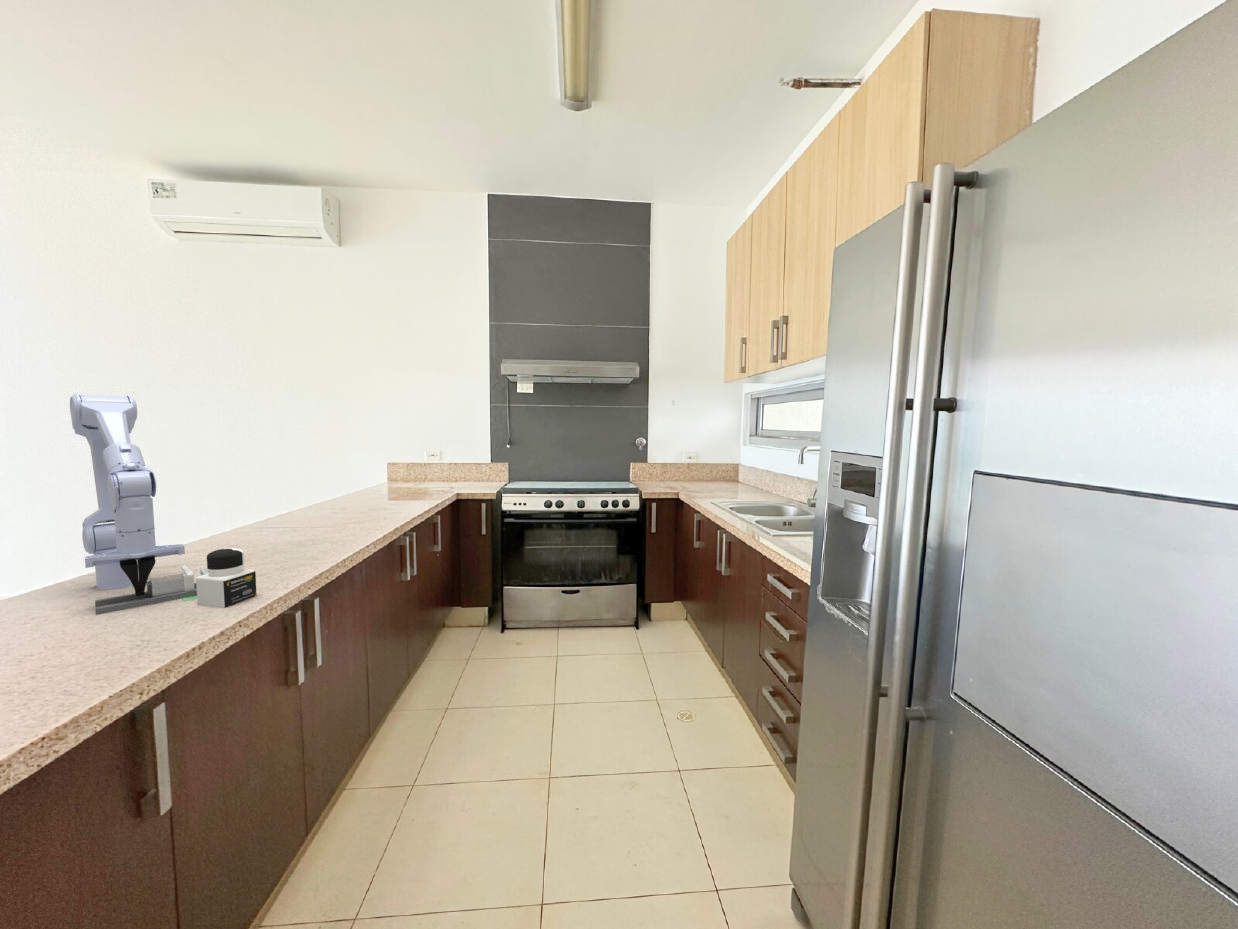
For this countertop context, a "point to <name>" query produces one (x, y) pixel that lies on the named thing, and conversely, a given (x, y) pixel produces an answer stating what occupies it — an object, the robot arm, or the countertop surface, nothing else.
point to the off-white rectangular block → (188, 578)
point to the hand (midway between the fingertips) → (139, 594)
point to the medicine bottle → (225, 579)
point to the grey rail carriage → (165, 585)
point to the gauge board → (143, 602)
